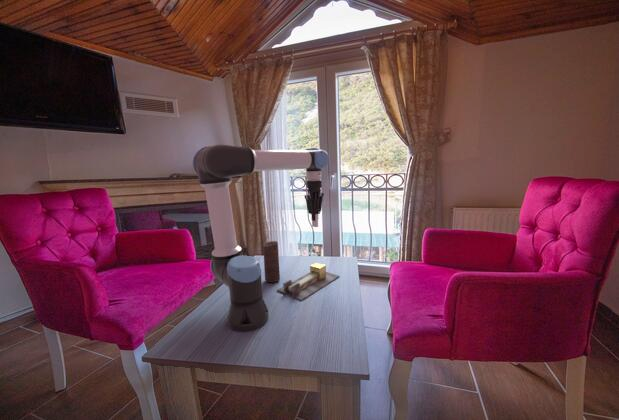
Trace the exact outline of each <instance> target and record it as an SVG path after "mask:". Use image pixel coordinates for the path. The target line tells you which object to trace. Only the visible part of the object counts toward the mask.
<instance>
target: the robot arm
mask: <svg viewBox="0 0 619 420" xmlns="http://www.w3.org/2000/svg"><path fill="white" fill-rule="evenodd" d="M191 162H192V168H193V170H194V172H195V173H196V174H197V176H198V182H199V186H201V187H202V188H204V192H205V198H206V205H207V209H208V215H209V221H210V227H211V228H210V229H211V234H212V238H213V246H214V249H213V250H212V252H211V261H210V265H209V266H210V271H211V273H212V275H213V276H214V277H215V278H216V279H217V280H218V281H220V282H222V284H224V285H225V286H226V287H227V288H228V291H229V298H230V299H229V300H230V305H229V307H228V314H227V315H226V317H227V318H226V319H227V321H226V322H227V326H228V327H229V328H230V330H233V331H236V332H250V331H253V330H257V329H259V328H261V327H263V326H264V325H265V324H266V323H267V322H268V320H269V318H270V317H269V309H268V307H267V304H266V302H265V300H264V297H263V284H262V283H263V282H262V268H261V263H260V261H259V259H257V258H256V257H255V256H252V255H249V256H247V255H246V254H245V255H243V249H242V247H241V245H239V244H238V241H237V235H236V228H235V221H234V215H233V208H232V201H231V194H230V193H231V192H230V187H229V186H230V185H231V184H232V182H233V180H232V178H233V177H239V176H240V177H241V176H245V175H252V174H253V173H254V172H266V171H267V172H269V171H287V170H289V171H290V170H304V169H305V173H306V174H305V176H306V177H305V178H306V188H307V194H304V199H305V203H306V208H307V212H308V214H309V215H311V227H313V228H318V227H319V214H321V212H322V207H323V199H324V195H325V193H324V192H321V191H322V190H321V189H322V187H323V185H322V184H323V183H322V169H324V168H326V167H327V166H328V165H329V162H330V156H329V153H328V152H327V151H326V150H324V149H320V148H319V147H307V148H306V149H305V150H303V149H299V150H298V149H296V150H294V149H293V150H292V149H289V150H288V149H252V148H251V147H250V146H238V145H230V144H229V145H228V144H223V143H222V144H220V143H219V144H214V145H208V146H204V147H202V148H200V149H198V150H197V151H196V152H195V154H194V155H193V157H192V161H191Z"/></svg>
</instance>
